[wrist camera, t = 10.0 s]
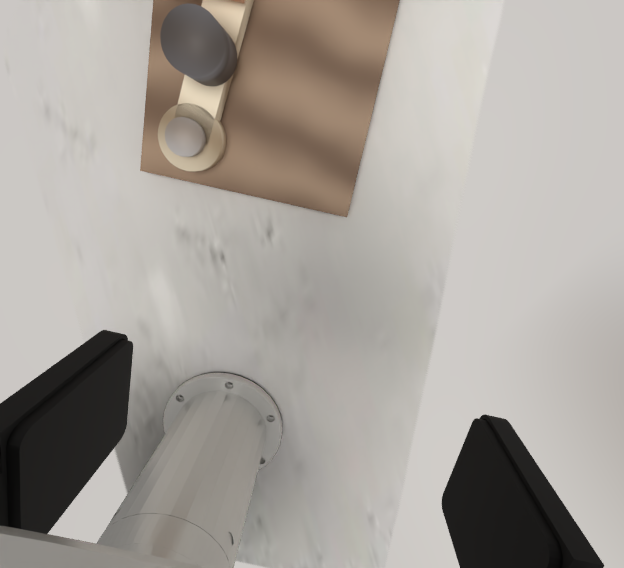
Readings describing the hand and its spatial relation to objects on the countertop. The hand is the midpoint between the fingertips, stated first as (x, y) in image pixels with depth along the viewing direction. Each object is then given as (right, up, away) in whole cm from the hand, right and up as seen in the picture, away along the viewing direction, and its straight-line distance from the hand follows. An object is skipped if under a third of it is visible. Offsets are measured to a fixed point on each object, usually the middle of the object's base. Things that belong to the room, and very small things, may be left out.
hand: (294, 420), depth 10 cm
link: (-7, +20, +20) cm, 29 cm away
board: (-3, +22, +21) cm, 31 cm away
